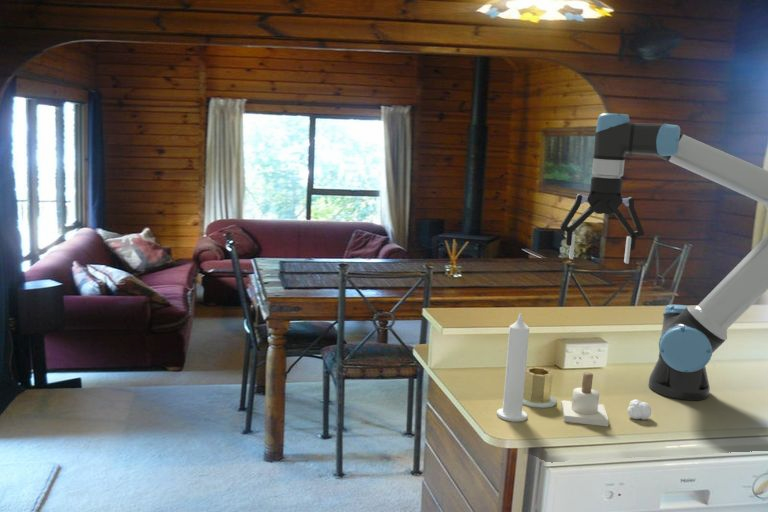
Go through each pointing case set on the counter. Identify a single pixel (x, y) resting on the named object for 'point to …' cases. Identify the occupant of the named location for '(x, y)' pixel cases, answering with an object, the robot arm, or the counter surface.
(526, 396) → the brass hex nut
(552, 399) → the coaster
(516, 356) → the candle
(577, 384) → the counter surface
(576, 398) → the stand
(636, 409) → the microfossil shell
